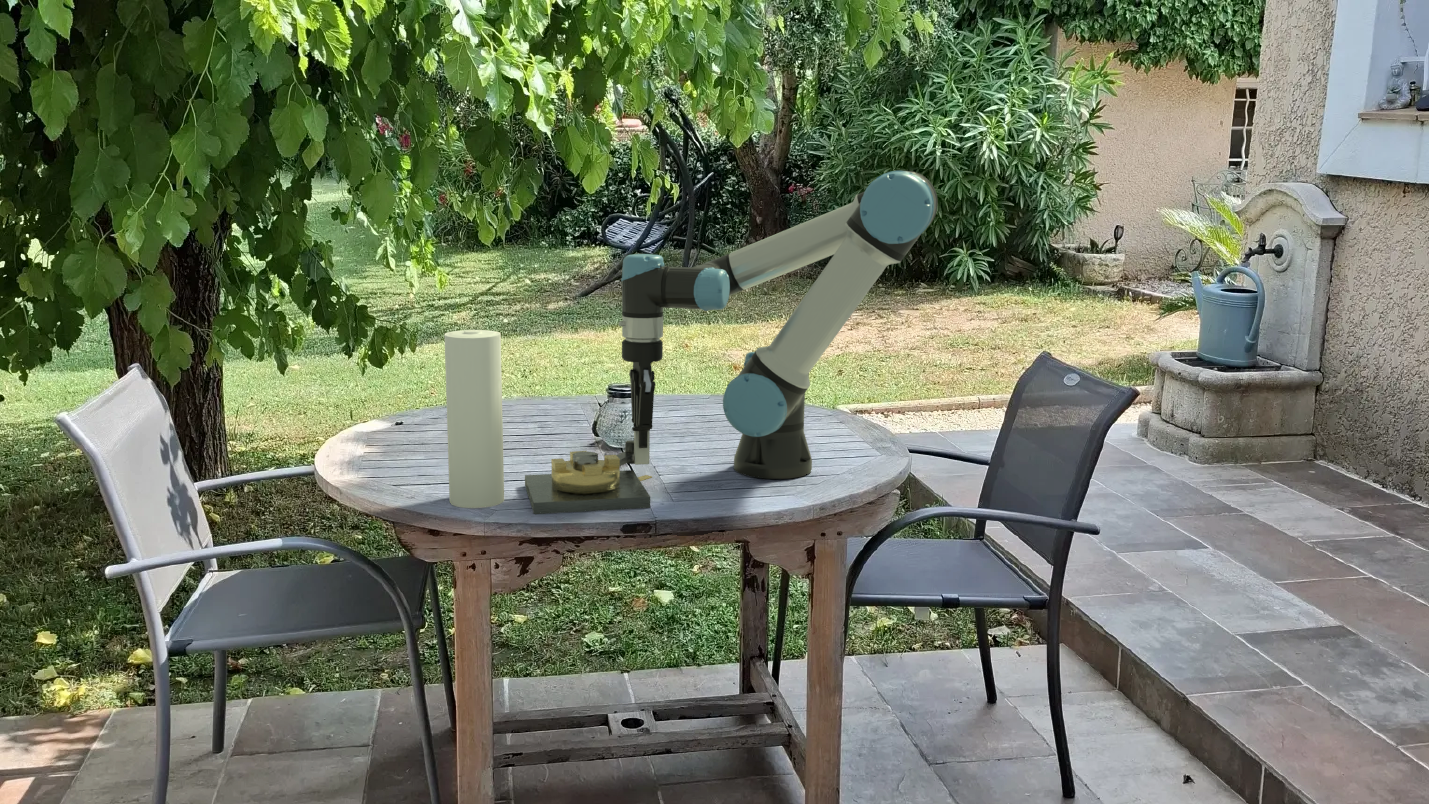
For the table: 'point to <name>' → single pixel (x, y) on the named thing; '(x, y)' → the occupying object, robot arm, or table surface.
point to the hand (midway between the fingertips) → (641, 463)
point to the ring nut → (590, 471)
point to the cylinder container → (474, 418)
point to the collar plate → (586, 495)
